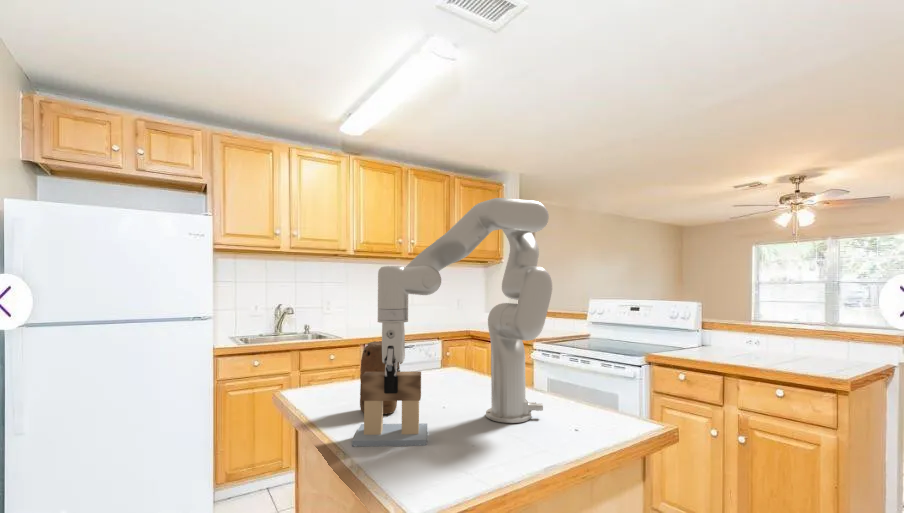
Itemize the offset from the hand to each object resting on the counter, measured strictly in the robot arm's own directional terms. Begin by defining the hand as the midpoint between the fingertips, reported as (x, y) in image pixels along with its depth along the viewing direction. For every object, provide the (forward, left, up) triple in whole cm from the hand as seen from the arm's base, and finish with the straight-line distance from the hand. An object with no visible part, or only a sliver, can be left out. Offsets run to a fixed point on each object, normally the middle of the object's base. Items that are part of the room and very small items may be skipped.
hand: (392, 389), depth 109 cm
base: (0, 0, -11) cm, 11 cm away
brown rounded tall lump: (+6, -21, -12) cm, 25 cm away
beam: (0, 0, -2) cm, 2 cm away
